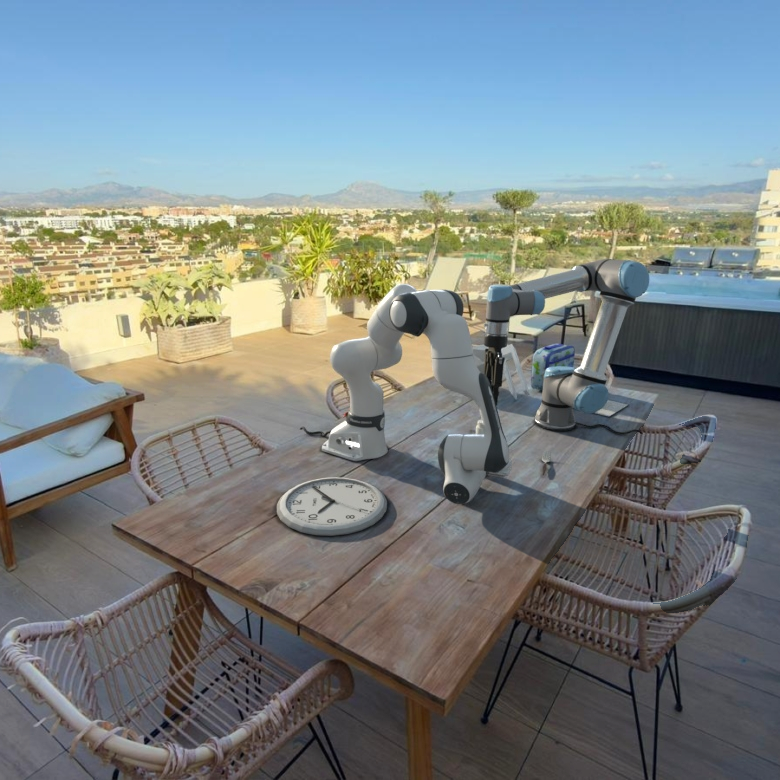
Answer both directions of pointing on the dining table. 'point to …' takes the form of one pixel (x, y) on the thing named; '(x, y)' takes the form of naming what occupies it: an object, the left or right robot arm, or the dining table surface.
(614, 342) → the right robot arm
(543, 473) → the fork
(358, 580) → the dining table surface
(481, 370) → the white plastic object
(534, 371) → the lunch box
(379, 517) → the wall clock
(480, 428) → the off-white tall cylinder
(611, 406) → the invitation card
